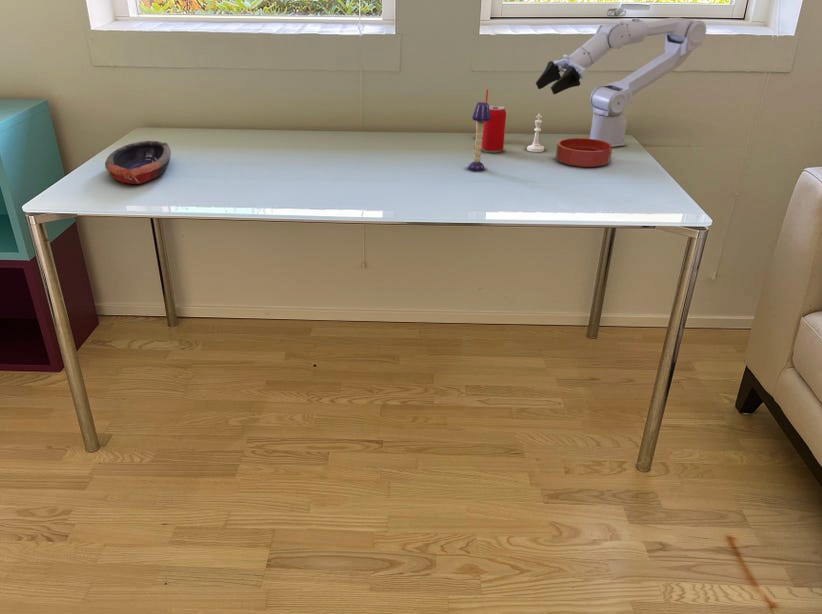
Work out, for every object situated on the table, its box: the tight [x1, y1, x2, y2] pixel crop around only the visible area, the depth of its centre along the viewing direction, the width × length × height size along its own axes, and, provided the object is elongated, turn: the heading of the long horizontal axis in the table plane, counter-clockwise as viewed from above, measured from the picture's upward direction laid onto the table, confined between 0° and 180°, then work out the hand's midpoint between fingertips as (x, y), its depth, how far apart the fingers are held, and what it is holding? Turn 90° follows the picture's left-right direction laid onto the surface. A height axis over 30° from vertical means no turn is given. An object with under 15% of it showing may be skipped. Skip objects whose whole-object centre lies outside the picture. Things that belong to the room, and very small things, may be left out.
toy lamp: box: [467, 101, 490, 172], centre depth 186 cm, size 5×5×17 cm
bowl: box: [555, 137, 613, 168], centre depth 196 cm, size 14×14×4 cm
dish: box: [104, 140, 172, 185], centre depth 186 cm, size 16×31×5 cm, turn 4°
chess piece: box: [526, 113, 545, 153], centre depth 205 cm, size 5×5×10 cm
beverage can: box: [481, 104, 507, 154], centre depth 203 cm, size 6×6×12 cm
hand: (544, 88), depth 197 cm, fingers open, 7 cm apart
